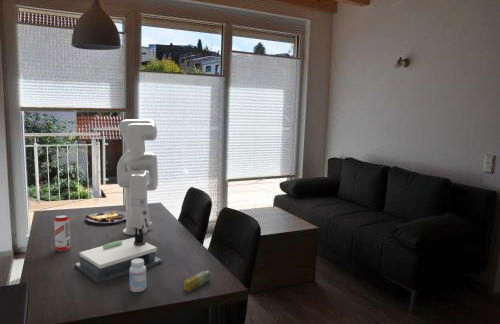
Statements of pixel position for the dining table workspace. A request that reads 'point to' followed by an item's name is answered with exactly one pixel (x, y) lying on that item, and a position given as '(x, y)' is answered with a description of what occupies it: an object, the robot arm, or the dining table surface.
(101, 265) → the board
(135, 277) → the pill bottle
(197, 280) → the medication box
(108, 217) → the food plate
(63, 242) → the beer can
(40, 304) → the dining table surface
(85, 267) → the level stand
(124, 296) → the dining table surface
